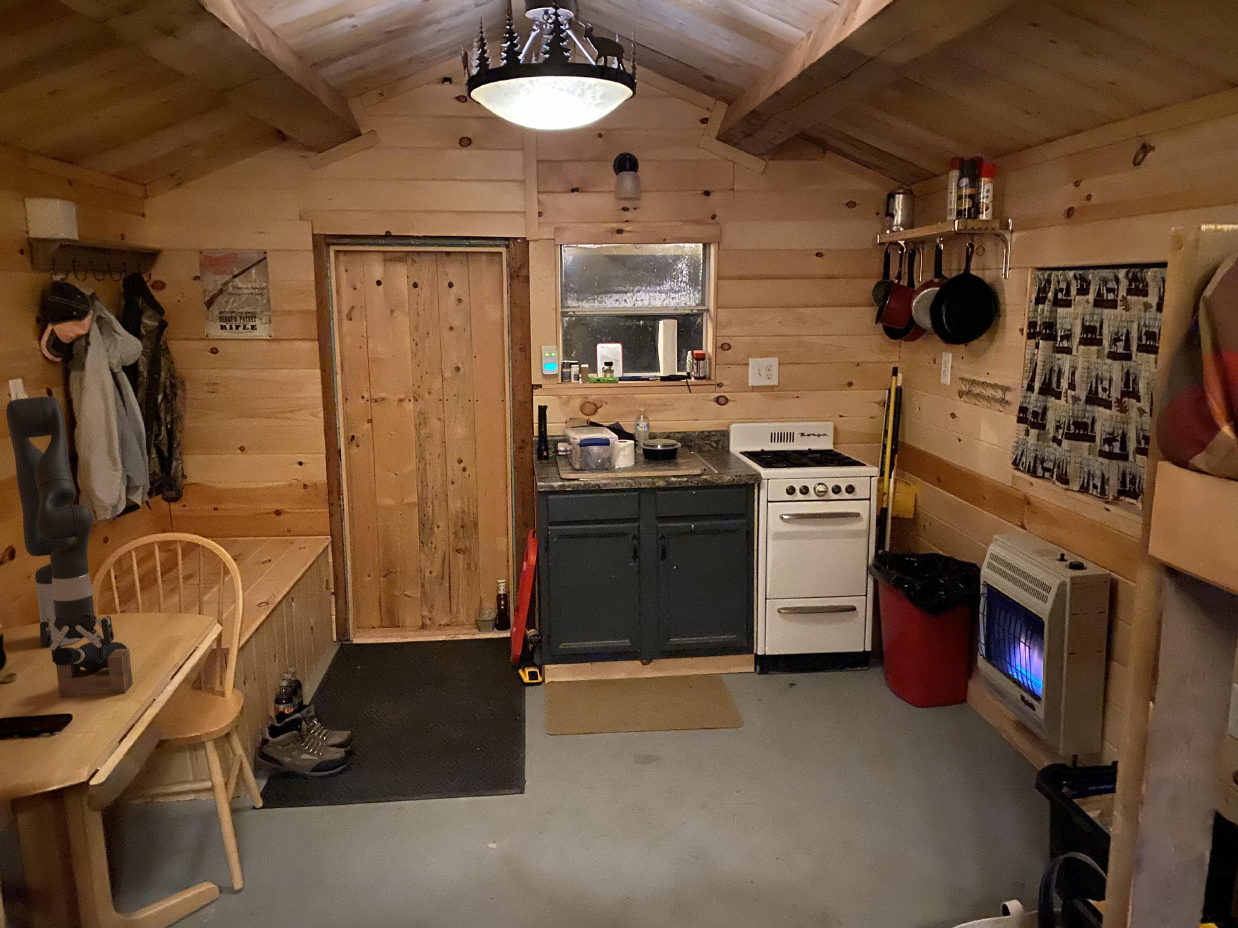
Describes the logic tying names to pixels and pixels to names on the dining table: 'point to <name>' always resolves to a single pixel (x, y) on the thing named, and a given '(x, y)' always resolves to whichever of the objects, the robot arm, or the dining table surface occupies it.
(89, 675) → the walnut U-rest
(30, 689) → the dining table surface
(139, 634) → the dining table surface
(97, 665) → the black bottle
